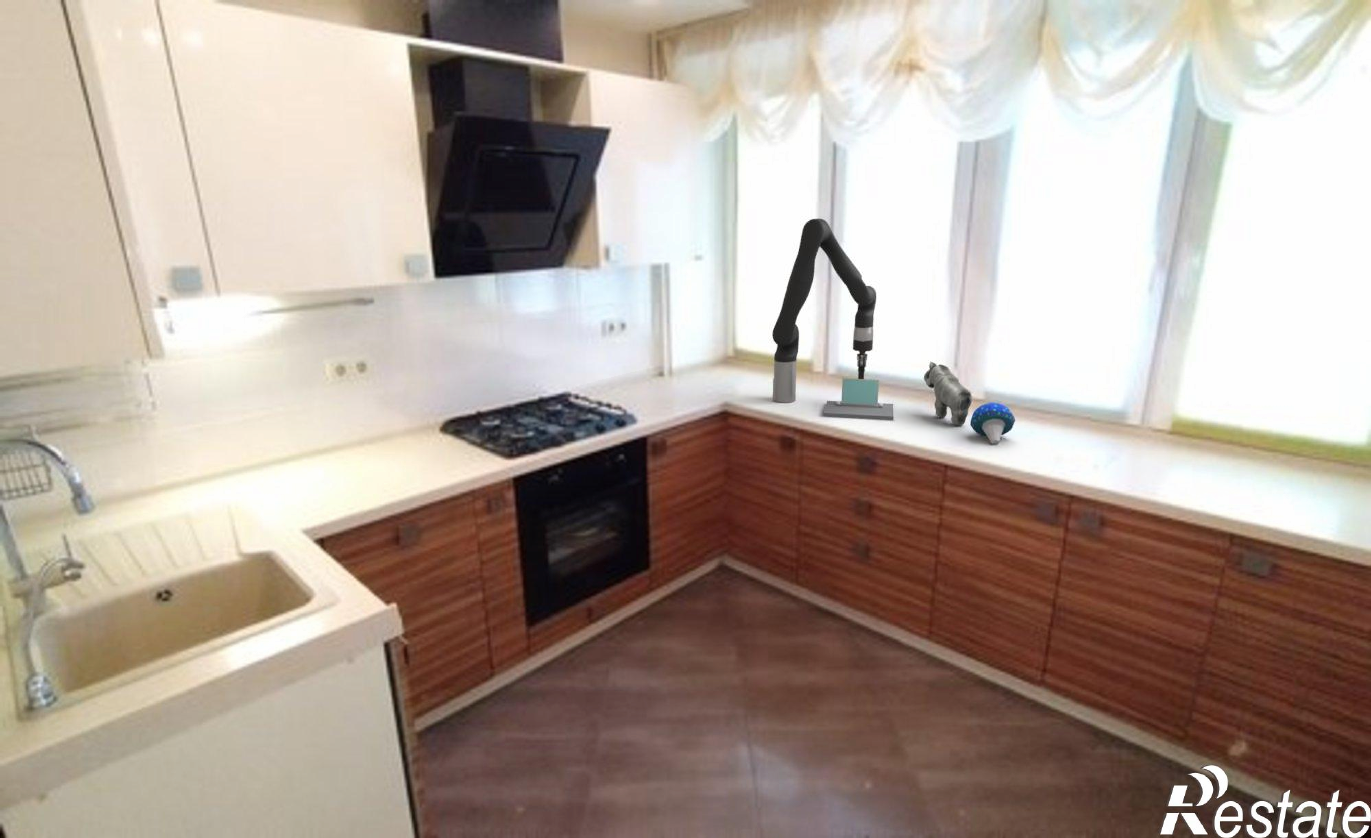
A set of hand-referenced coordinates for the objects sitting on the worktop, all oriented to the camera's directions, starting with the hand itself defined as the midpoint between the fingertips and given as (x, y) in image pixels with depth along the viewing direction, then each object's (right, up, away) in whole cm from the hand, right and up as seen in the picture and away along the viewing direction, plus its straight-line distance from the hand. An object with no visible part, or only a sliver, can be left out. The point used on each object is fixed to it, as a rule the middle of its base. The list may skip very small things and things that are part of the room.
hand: (860, 380), depth 266 cm
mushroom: (+35, -22, -37) cm, 56 cm away
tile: (-1, -4, -1) cm, 5 cm away
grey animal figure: (+27, -15, -14) cm, 34 cm away
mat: (-2, -13, -3) cm, 13 cm away
